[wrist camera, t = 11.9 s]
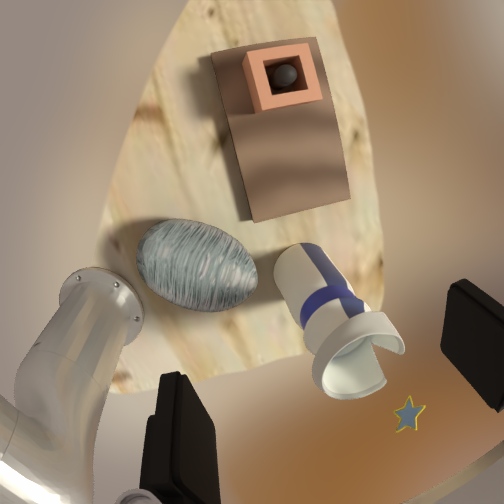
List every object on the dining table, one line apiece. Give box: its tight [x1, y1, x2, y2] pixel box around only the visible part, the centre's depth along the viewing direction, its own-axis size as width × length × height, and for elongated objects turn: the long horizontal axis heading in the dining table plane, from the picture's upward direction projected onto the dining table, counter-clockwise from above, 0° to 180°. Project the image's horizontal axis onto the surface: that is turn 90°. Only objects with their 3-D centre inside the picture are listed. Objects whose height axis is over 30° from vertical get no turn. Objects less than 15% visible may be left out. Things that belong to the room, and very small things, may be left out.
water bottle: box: [273, 243, 426, 433], centre depth 28 cm, size 8×9×25 cm
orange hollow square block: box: [242, 43, 323, 114], centre depth 27 cm, size 6×6×5 cm
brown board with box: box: [211, 37, 351, 223], centre depth 29 cm, size 20×12×8 cm, turn 14°
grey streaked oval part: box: [136, 219, 258, 312], centre depth 34 cm, size 14×10×10 cm
